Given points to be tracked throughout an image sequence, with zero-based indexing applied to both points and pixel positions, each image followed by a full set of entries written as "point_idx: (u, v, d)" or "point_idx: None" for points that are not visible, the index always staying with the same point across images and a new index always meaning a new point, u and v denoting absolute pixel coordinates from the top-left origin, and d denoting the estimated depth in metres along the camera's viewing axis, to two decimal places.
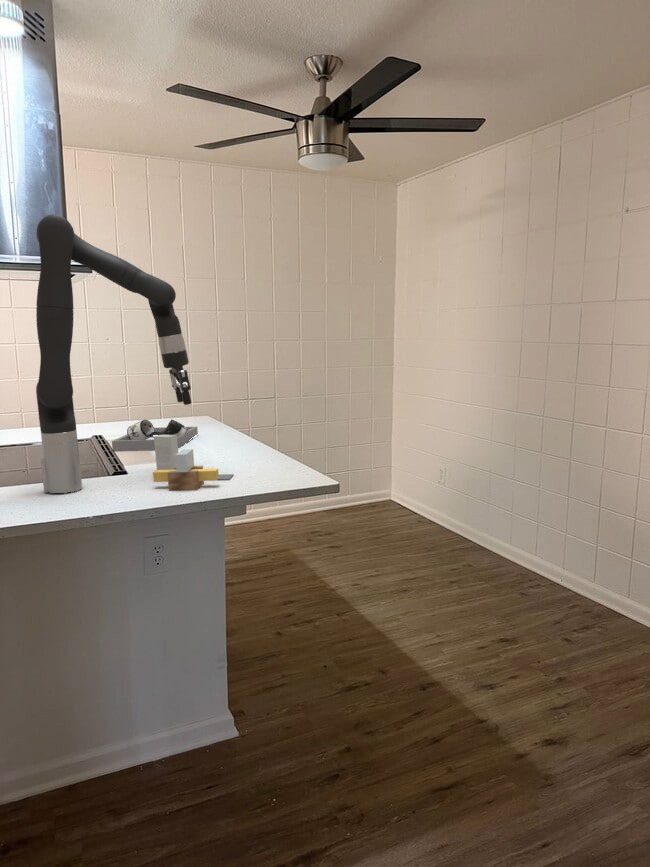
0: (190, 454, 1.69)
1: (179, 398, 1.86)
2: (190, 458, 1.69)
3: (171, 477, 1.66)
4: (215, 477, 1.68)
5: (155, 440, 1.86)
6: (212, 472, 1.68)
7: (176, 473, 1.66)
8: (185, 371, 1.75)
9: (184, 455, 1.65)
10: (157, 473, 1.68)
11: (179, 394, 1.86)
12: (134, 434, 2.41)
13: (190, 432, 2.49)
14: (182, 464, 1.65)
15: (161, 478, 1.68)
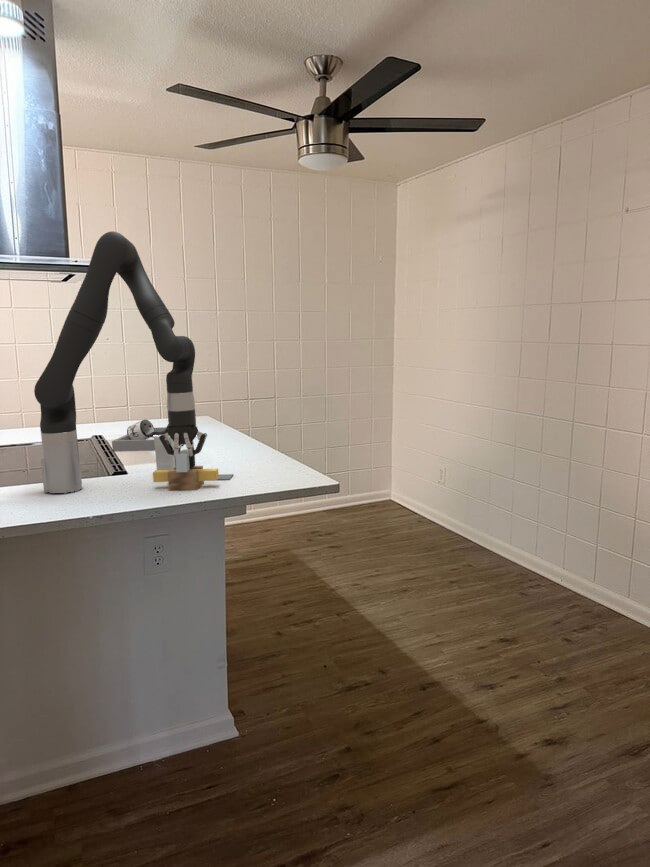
0: None
1: None
2: None
3: (171, 477, 1.66)
4: (215, 477, 1.68)
5: (155, 440, 1.86)
6: (212, 472, 1.68)
7: (176, 473, 1.66)
8: None
9: (184, 455, 1.65)
10: (157, 473, 1.68)
11: None
12: (134, 434, 2.41)
13: None
14: (182, 464, 1.65)
15: (161, 478, 1.68)
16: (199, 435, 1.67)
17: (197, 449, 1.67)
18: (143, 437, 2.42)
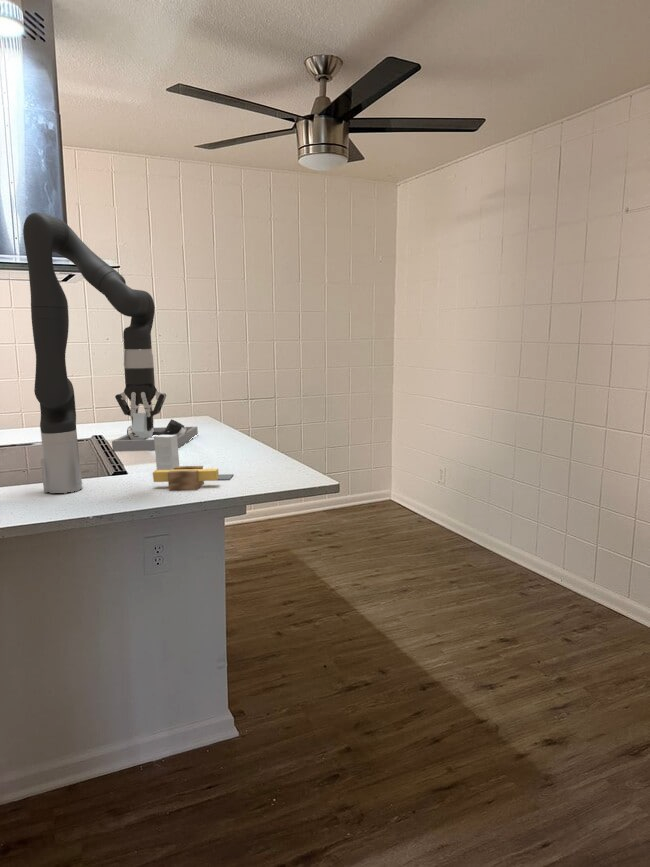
0: None
1: None
2: None
3: (171, 477, 1.66)
4: (215, 477, 1.68)
5: (155, 440, 1.86)
6: (212, 472, 1.68)
7: (176, 473, 1.66)
8: None
9: (142, 414, 1.58)
10: (157, 473, 1.68)
11: None
12: (134, 434, 2.41)
13: (190, 432, 2.49)
14: (139, 423, 1.57)
15: (161, 478, 1.68)
16: (157, 395, 1.59)
17: (155, 410, 1.59)
18: None
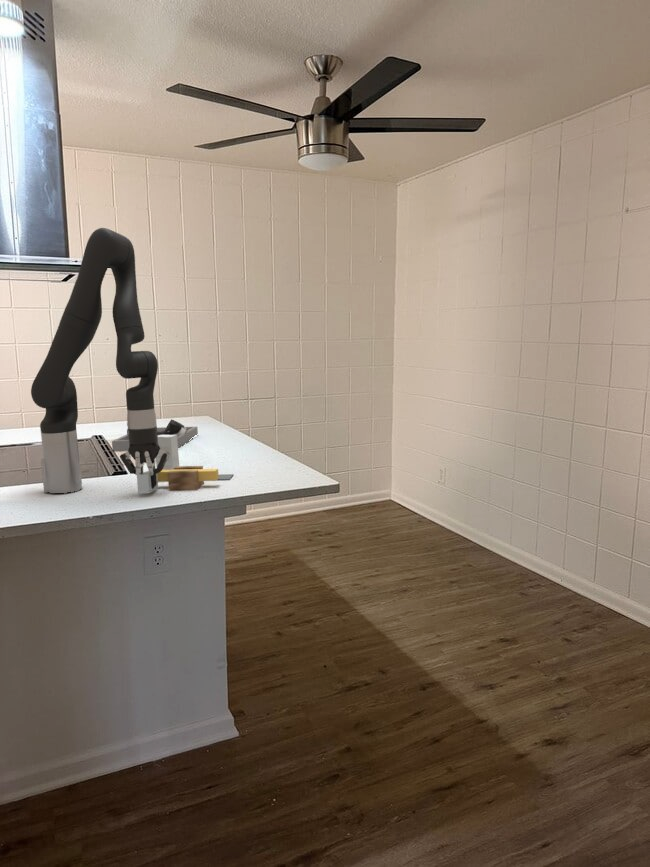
0: None
1: None
2: None
3: (171, 477, 1.66)
4: (215, 477, 1.68)
5: None
6: (212, 472, 1.67)
7: (176, 473, 1.66)
8: None
9: (146, 475, 1.60)
10: (157, 473, 1.68)
11: None
12: None
13: (190, 432, 2.49)
14: (144, 485, 1.60)
15: (161, 478, 1.69)
16: (161, 454, 1.61)
17: (158, 468, 1.61)
18: None
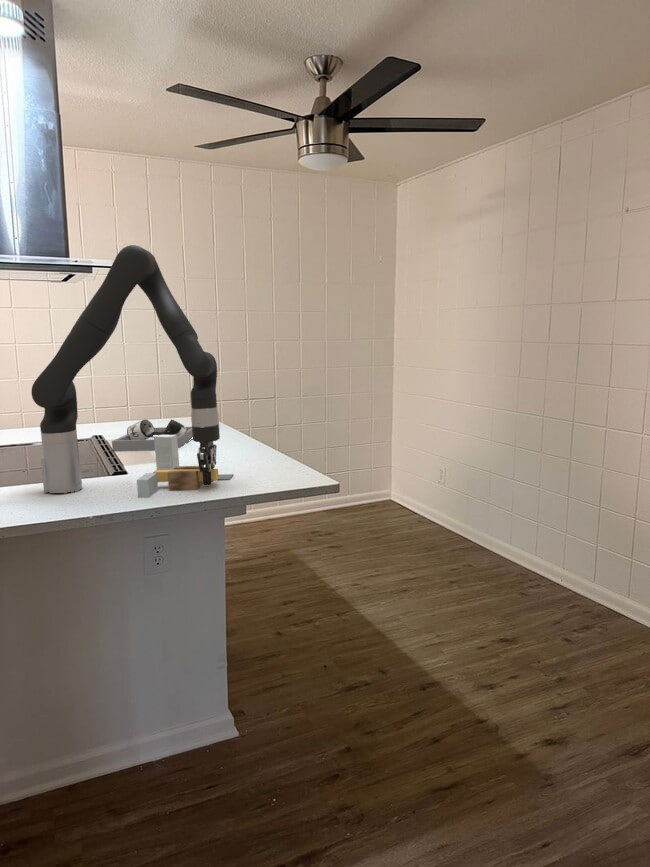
0: (153, 479, 1.64)
1: None
2: (153, 483, 1.64)
3: (171, 477, 1.66)
4: (215, 477, 1.68)
5: (155, 440, 1.86)
6: (212, 472, 1.67)
7: (176, 473, 1.66)
8: (204, 455, 1.62)
9: (146, 480, 1.59)
10: (157, 473, 1.68)
11: None
12: (134, 434, 2.41)
13: (190, 432, 2.49)
14: (144, 490, 1.60)
15: (161, 478, 1.69)
16: None
17: (215, 460, 1.73)
18: (143, 437, 2.42)
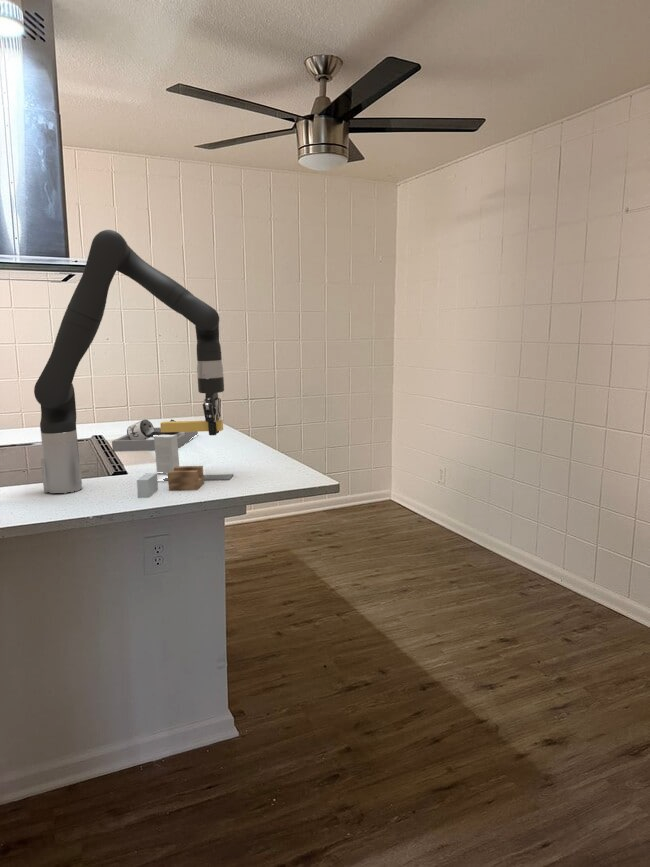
0: (153, 479, 1.64)
1: None
2: (153, 483, 1.64)
3: (171, 477, 1.66)
4: (220, 427, 1.76)
5: (155, 440, 1.86)
6: (217, 423, 1.75)
7: (176, 473, 1.66)
8: (210, 405, 1.70)
9: (146, 480, 1.59)
10: (164, 424, 1.76)
11: None
12: (134, 434, 2.41)
13: (190, 432, 2.49)
14: (144, 490, 1.60)
15: (168, 429, 1.76)
16: None
17: (219, 413, 1.81)
18: (143, 437, 2.42)
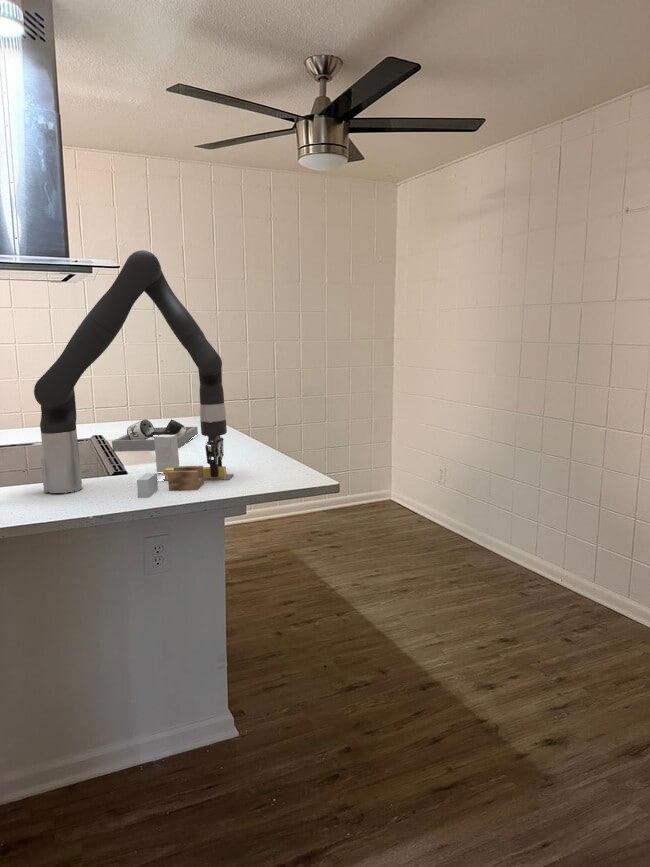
0: (153, 479, 1.64)
1: None
2: (153, 483, 1.64)
3: (171, 477, 1.66)
4: (223, 474, 1.78)
5: (155, 440, 1.86)
6: (220, 470, 1.78)
7: (176, 473, 1.66)
8: (212, 447, 1.71)
9: (146, 480, 1.59)
10: (168, 471, 1.78)
11: None
12: (134, 434, 2.41)
13: (190, 432, 2.49)
14: (144, 490, 1.60)
15: None
16: None
17: None
18: (143, 437, 2.42)
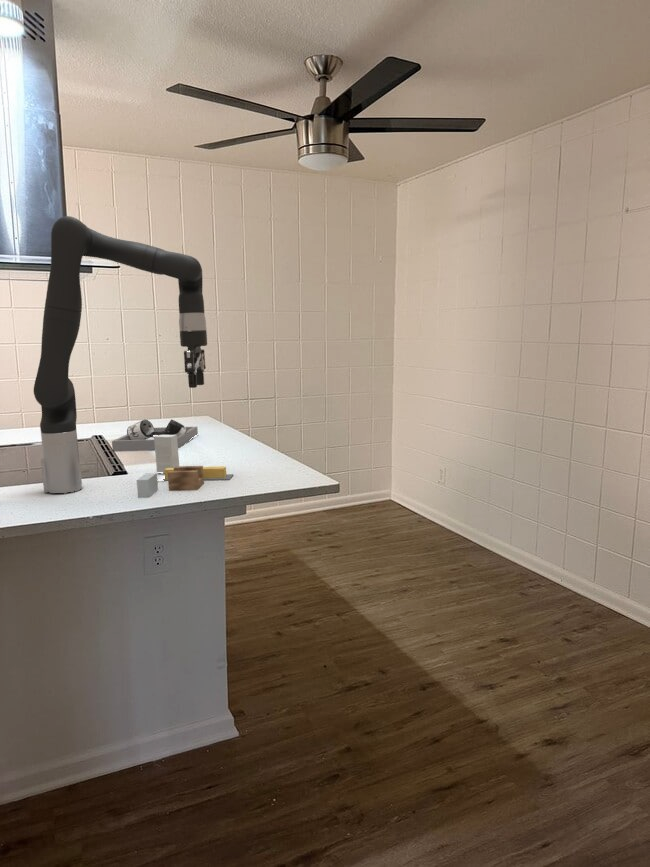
0: (153, 479, 1.64)
1: (198, 381, 1.76)
2: (153, 483, 1.64)
3: (171, 477, 1.66)
4: (223, 474, 1.78)
5: (155, 440, 1.86)
6: (220, 470, 1.78)
7: (176, 473, 1.66)
8: (191, 352, 1.64)
9: (146, 480, 1.59)
10: (168, 471, 1.78)
11: (198, 376, 1.76)
12: (134, 434, 2.41)
13: (190, 432, 2.49)
14: (144, 490, 1.60)
15: None
16: (200, 353, 1.76)
17: None
18: (143, 437, 2.42)
